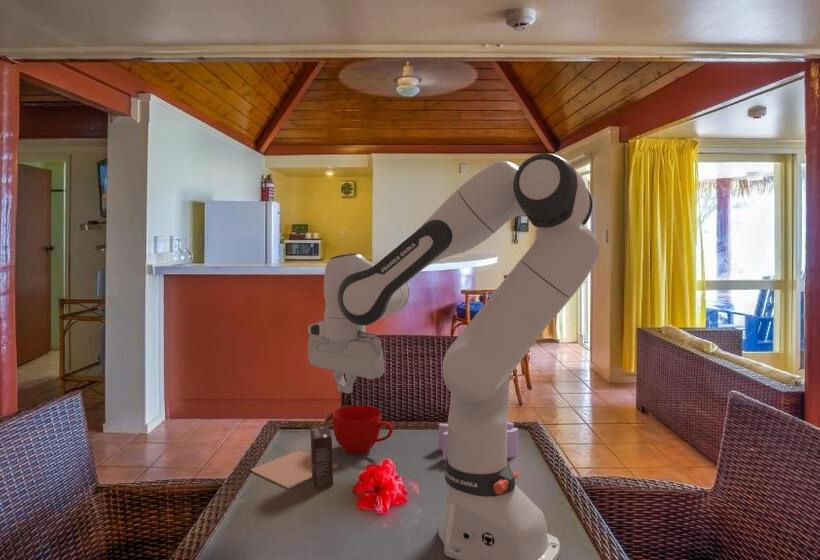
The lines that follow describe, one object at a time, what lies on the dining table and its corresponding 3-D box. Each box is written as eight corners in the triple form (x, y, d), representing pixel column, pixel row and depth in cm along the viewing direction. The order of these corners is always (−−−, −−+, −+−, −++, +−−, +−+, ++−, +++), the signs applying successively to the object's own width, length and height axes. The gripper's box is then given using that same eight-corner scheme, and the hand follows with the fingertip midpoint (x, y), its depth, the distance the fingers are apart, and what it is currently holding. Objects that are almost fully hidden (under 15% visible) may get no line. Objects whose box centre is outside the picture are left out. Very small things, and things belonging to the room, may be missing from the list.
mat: (338, 466, 130) (338, 465, 130) (289, 489, 118) (289, 488, 118) (298, 451, 139) (298, 450, 139) (249, 470, 128) (249, 469, 128)
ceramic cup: (379, 466, 130) (379, 426, 130) (322, 454, 138) (322, 416, 137) (403, 447, 142) (403, 411, 141) (349, 437, 149) (349, 402, 149)
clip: (508, 442, 146) (509, 418, 146) (523, 461, 134) (523, 434, 133) (437, 445, 144) (437, 420, 144) (444, 464, 132) (444, 437, 131)
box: (310, 476, 124) (310, 427, 123) (329, 473, 125) (329, 425, 124) (313, 489, 118) (313, 438, 117) (333, 486, 120) (333, 436, 118)
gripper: (390, 332, 110) (390, 397, 111) (324, 322, 123) (324, 380, 124) (370, 337, 105) (370, 405, 106) (302, 325, 118) (303, 386, 119)
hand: (345, 392), depth 115 cm, fingers closed
